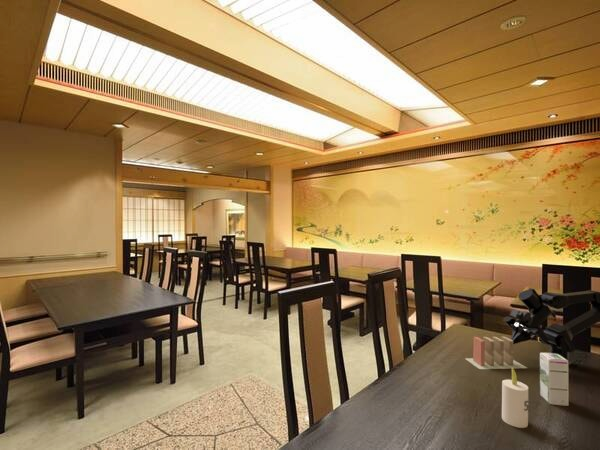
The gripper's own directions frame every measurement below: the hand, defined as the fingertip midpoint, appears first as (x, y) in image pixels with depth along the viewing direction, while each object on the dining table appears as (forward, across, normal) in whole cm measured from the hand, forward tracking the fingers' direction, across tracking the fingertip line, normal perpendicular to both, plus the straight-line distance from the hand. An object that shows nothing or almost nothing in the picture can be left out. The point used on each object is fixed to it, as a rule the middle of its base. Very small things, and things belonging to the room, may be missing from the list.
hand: (510, 343), depth 132 cm
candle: (+25, +38, -13) cm, 47 cm away
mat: (+10, 0, +1) cm, 10 cm away
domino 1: (+15, 0, -4) cm, 16 cm away
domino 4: (+7, 0, +5) cm, 8 cm away
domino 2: (+12, 0, -1) cm, 12 cm away
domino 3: (+10, 0, +2) cm, 10 cm away
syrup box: (+10, +27, +2) cm, 29 cm away
